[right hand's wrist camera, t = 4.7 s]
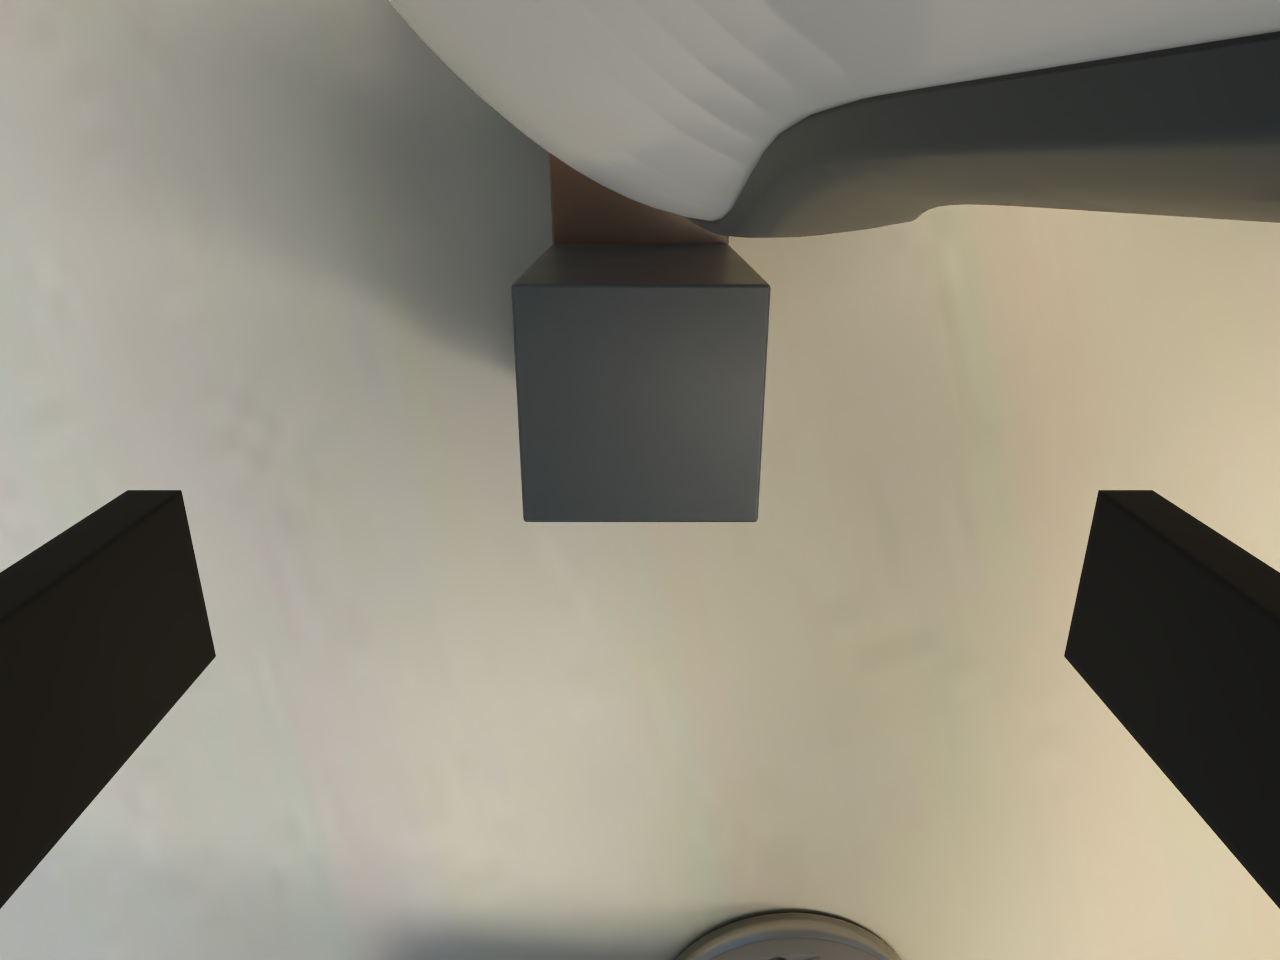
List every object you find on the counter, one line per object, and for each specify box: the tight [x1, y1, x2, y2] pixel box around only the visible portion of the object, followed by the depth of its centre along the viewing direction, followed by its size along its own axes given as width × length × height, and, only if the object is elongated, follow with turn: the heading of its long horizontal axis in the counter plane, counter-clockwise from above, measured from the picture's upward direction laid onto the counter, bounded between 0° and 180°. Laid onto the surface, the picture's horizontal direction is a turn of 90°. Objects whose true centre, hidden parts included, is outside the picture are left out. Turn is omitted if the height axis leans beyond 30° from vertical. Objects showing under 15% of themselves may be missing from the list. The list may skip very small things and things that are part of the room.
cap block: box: [511, 243, 770, 522], centre depth 25 cm, size 6×6×10 cm
